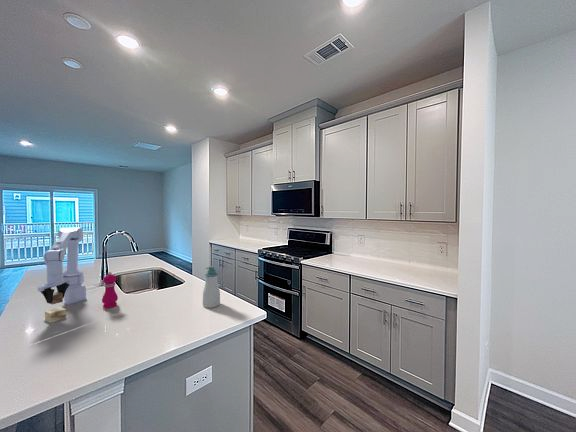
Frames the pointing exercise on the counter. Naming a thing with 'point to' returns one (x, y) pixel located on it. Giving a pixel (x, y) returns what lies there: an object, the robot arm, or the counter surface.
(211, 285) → the soap bottle
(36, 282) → the counter surface
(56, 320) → the slate mat
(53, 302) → the walnut block
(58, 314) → the oak base
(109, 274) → the pepper mill
